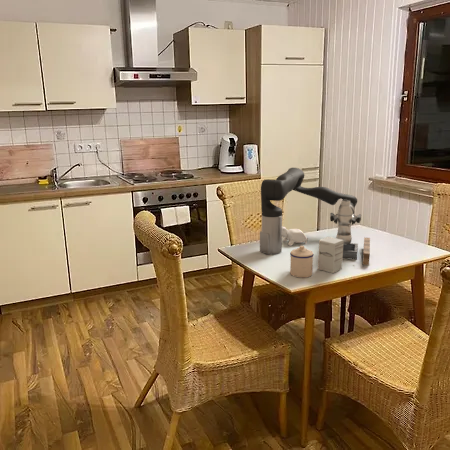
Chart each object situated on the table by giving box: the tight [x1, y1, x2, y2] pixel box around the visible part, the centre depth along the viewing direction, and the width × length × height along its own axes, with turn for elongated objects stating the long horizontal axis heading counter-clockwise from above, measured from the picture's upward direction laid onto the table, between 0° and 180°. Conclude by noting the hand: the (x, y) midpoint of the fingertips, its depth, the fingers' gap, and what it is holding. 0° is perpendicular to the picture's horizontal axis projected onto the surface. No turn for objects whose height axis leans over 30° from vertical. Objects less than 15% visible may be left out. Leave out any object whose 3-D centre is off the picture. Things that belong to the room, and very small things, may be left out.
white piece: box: [282, 225, 309, 247], centre depth 219 cm, size 9×8×15 cm
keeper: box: [342, 242, 359, 260], centre depth 202 cm, size 12×12×4 cm
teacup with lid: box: [289, 245, 314, 279], centre depth 179 cm, size 12×9×12 cm
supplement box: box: [317, 236, 344, 274], centre depth 182 cm, size 7×7×13 cm
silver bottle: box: [335, 199, 353, 245], centre depth 199 cm, size 6×7×20 cm
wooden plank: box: [362, 236, 371, 266], centre depth 199 cm, size 24×2×5 cm, turn 163°
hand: (344, 222), depth 196 cm, fingers closed on silver bottle, 6 cm apart
